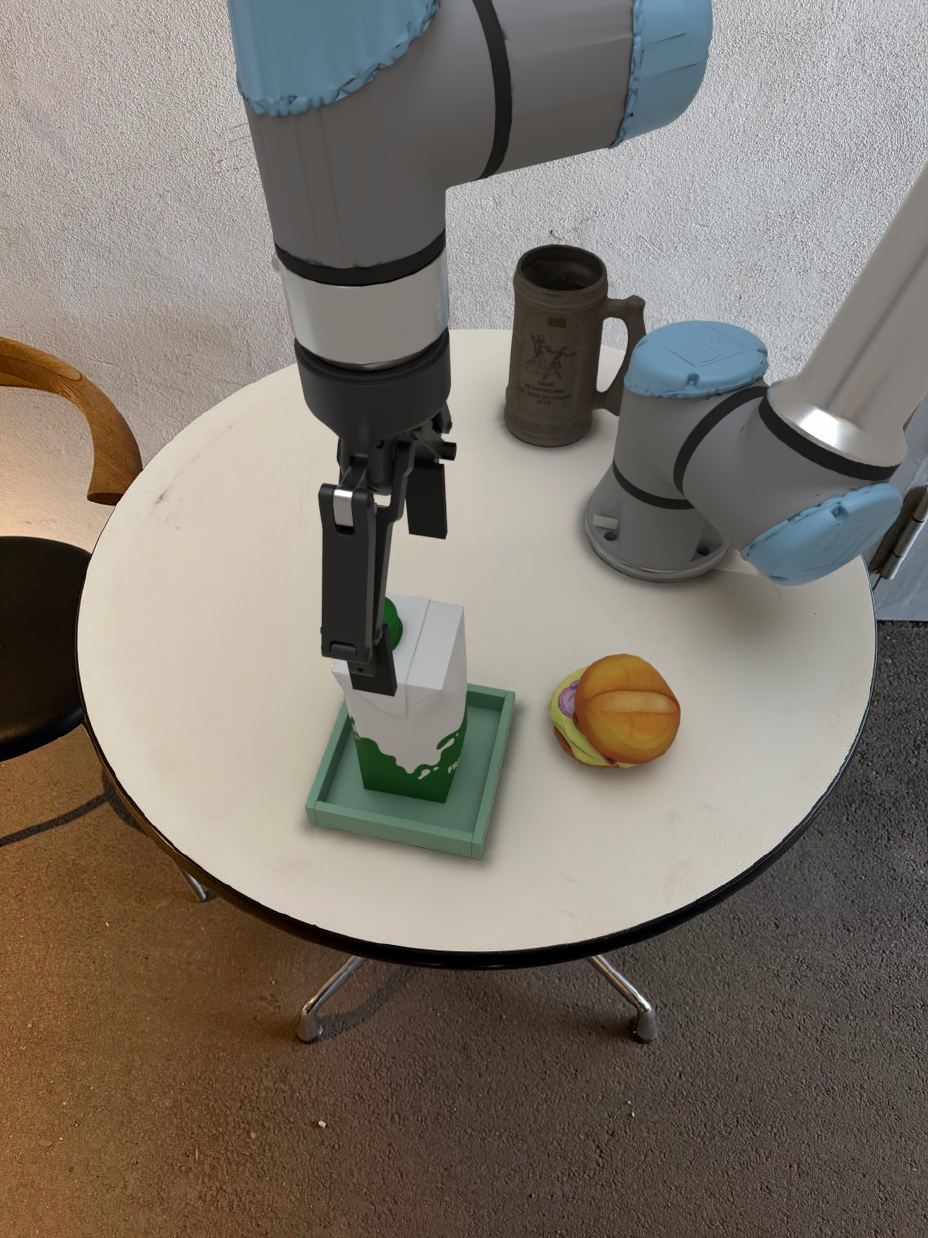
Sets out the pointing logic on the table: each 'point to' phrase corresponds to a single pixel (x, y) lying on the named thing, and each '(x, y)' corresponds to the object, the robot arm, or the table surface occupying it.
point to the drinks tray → (413, 819)
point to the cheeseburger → (615, 713)
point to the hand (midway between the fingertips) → (403, 605)
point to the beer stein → (563, 344)
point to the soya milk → (414, 702)
